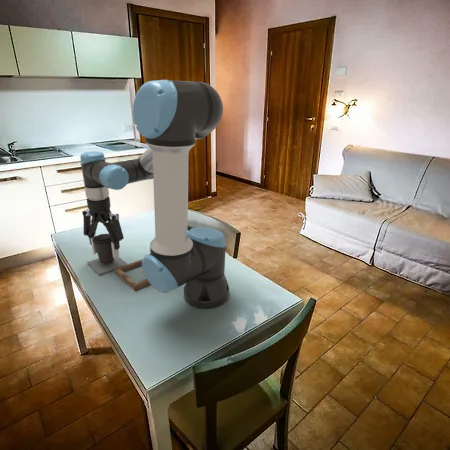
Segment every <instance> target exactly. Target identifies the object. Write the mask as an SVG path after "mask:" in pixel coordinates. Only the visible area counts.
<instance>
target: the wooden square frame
mask: <svg viewBox="0 0 450 450" xmlns="http://www.w3.org/2000/svg"><path fill="white" fill-rule="evenodd" d="M139 267H142V259H139V260H136V261H134V262H130V263H127V265H125V266H122V267H119V268H116V270H115V274H116V275H117V276H118V277H119V278H120V279H121V280H123V282H124V283H126V285H128V286H129V287H130V288H131V289H132V290H133V291H134V292H136V291H139V290H141V289H144V288H147V287H148V286H152V285H151V284H150V282H149V281H148V279H147V278H146V279H144V280H141V281H138V282H135V281H134V280H133V279H132V278H131V277H129V276H128V275H127V274H126V273H127V272H129V271H131V270H135V269H137V268H139Z"/></svg>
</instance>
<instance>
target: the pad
mask: <svg viewBox="0 0 450 450" xmlns="http://www.w3.org/2000/svg"><path fill="white" fill-rule="evenodd" d="M86 263H87V265H88V266H89V268H91V269H92V270H93V271H94V272H95V273H96V274H97V275H98V276H99V277H100V276H102V275H103V276H104V275H106V274H108V273H111V272H115V271H116V268H119V267H122V266H125V265H127V264H128V263H127V262H126V261H124V260H123V259H122V258H121V257H120V255H119V256H117V257H116V258H114V261H113V262H111V263H107V264H103V263H100V261H99V257H98V258H95V259H93V260H89V261H87V262H86Z"/></svg>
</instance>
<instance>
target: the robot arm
mask: <svg viewBox="0 0 450 450" xmlns="http://www.w3.org/2000/svg"><path fill="white" fill-rule="evenodd" d="M132 105H133V107H132V118H133V123H134V124H135V125H136V126H135V127H136V128H135V129H136V130H137V132H138V133H139V134H140V135H141V136H142V137H144V140H145V141H144V142H145V144H146V145H147V146H148V147H147V149H146V150H145V151H144V152H143V153H142V154H141V155H140V156H139V157H137V158H133V159H127V160H122V161H115V162H107V161H106V157H105V154H104V153H103V152H101V151H85V152H81V154H80V156H79V157H80V158H79V159H80V167H81V172H82V178H83V184H84V192H85V197H86V204H87V209H85V210H83V211H82V212H81V214H82V216H83V235H84V236H87V237H88V240H89V244H90V245H91V250H92V254H93V255H97V251H96V247H95V244H94V243H93V241H92V240H93V238H94V237H95V236H97V230H98V225H99V223H100V224H102V225H103V227H105V229H106V230H107V232H108V233H107V234H109V235H110V236H111V238H112V240H113V241H112V242H111V245H112V253H113V258H116V257H117V256H119V257H120V251H119V249H120V248H121V246H120V242H121V241H123V240H124V239H125V238H124V234H123V231H122V230H123V229H122V227H121V223H120V215H119V213H112V211H111V207H112V206H111V198H110V191H109V190H110V189H111V190H115V191H120V190H123V189H124V188H125V187H126V186H127V185H129V184H134V183H137V182H143V181H147V180H153V181H152V182H153V202H154V203H153V204H154V205H153V207H154V232H155V233H154V234H155V235H154V238H153V239H152V240H151V241H150V243H149V254H146V255H145V256H144V257H143V258H142V259H141V260H142V266H141V267H142V271H143V274H144V276H145V277H146V279H148V281H149V282H150V284H151V285H150V286H152V287H153V288H154V289H155V290H157V291H158V292H160V293H163V294H164V293H169V292H171V291H173V290H177V289H178V288H180V287H181V286H183V285H184V287H183V298H184V300H185V302H186V303H187V304H189V305H190V306H193V307H196V308H199V309H214V308H216V307H217V308H218V307H220V306H222V305H224V304H225V303H226V302H227V301H228V299H229V297H230V287H229V284H228V280H227V278H226V274H225V269H226V249H227V248H226V247H227V244H226V236H225V234H224V233H223V232H222V231H220V230H218V229H216V228H213V227H206V226H205V227H204V226H199V227H193V228H191V229H188V227H189V226H188V225H189V219H188V218H189V162H190V161H189V160H190V159H189V155H190V154H189V153H190V150H191V149H193V147H194V146H196V140H202V139H204V138H206V137H207V136H208V135H209V134H211V133H213V131H214V130H215V129H216V128H217V127H218V125H219V124H220V123H221V120H222V118H223V114H224V105H223V101H222V98H221V96H220V94H219V92H218V91H217V90H216V89H215V87H213V86H212V85H211V84H209V83H206V82H202V81H197V80H196V81H194V80H193V81H188V80H187V81H186V80H173V79H172V80H170V79H169V80H168V79H160V80H159V79H158V80H149V81H147V82H145V83H143V84H142V85H141V86H140V88H139V90H138V91H136V94H135V97H134V100H133V103H132Z"/></svg>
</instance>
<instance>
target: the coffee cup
mask: <svg viewBox="0 0 450 450" xmlns="http://www.w3.org/2000/svg"><path fill="white" fill-rule="evenodd" d="M94 236H95V237H94V238H93V240H92V241H93V243H94V244H95V247H96V251H97V253H96V255H97V257H98V258H99V261H100V263H103V264H107V263H111V262H113V261H114V258H113V253H112V245H111V242H112V241H113V240H112V238H111V236H110V235H109V233H101V234H98V235H94Z"/></svg>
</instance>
